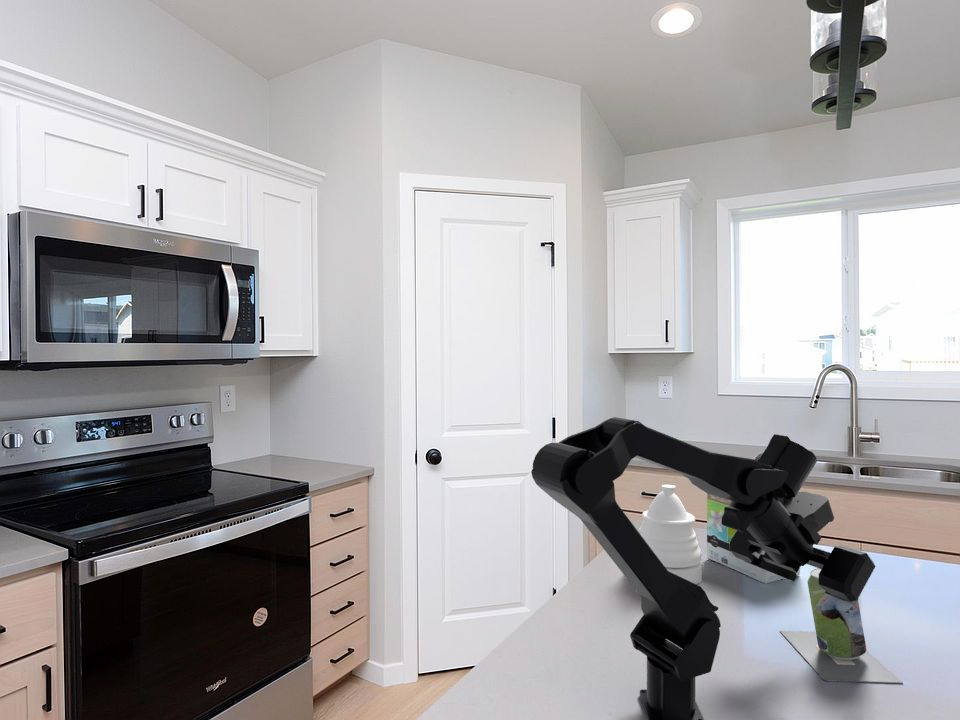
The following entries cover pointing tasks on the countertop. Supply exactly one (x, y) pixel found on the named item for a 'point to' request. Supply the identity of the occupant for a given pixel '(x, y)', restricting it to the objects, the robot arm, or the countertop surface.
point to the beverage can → (836, 623)
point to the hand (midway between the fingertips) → (823, 589)
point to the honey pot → (672, 535)
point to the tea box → (721, 543)
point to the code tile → (839, 662)
